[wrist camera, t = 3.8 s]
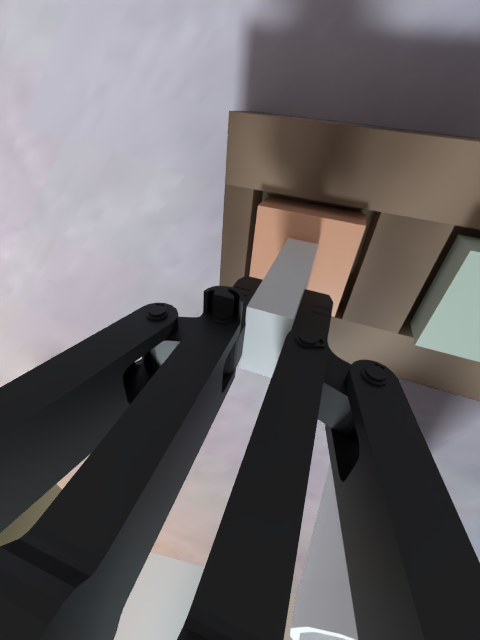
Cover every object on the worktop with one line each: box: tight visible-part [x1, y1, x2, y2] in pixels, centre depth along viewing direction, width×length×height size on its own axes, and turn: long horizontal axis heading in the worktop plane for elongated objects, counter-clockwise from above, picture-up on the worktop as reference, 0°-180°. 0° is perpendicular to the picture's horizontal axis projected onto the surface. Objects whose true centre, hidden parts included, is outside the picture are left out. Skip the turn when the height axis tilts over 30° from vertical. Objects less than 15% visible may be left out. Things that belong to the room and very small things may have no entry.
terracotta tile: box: [249, 196, 366, 317], centre depth 16 cm, size 5×5×2 cm
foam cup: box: [290, 461, 358, 640], centre depth 23 cm, size 10×9×13 cm
